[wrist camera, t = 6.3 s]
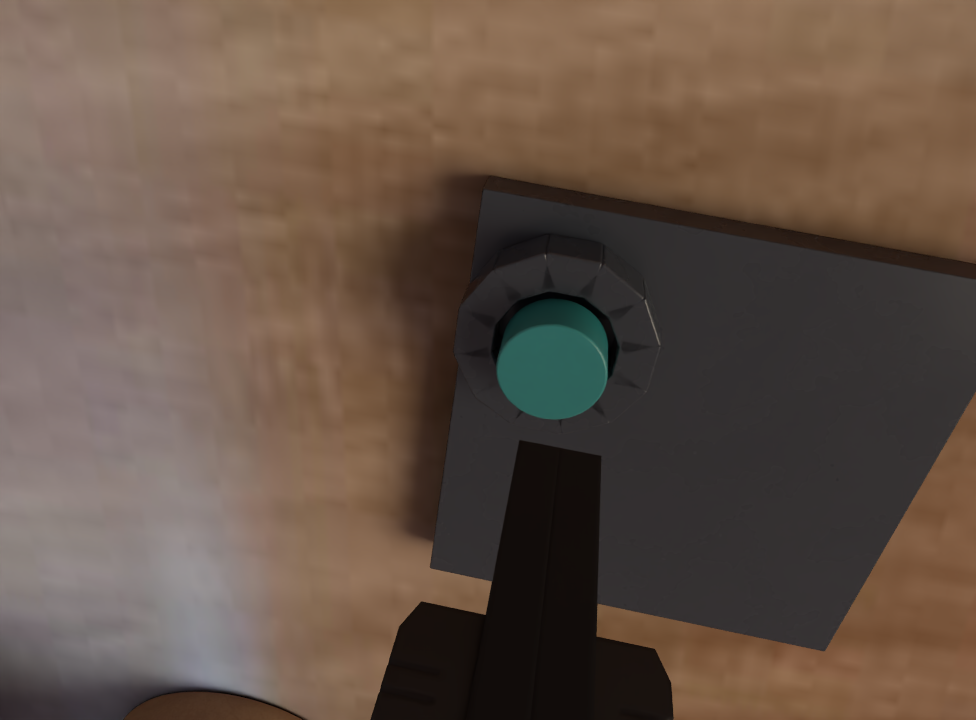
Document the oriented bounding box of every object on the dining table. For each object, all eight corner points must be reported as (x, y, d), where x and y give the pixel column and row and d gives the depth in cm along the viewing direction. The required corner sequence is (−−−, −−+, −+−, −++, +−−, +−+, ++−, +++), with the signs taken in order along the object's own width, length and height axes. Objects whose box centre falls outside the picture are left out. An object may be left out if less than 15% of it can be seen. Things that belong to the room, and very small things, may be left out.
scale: (1012, 270, 22) (1065, 315, 20) (816, 623, 31) (835, 687, 28) (488, 174, 23) (472, 206, 20) (435, 543, 31) (419, 598, 29)
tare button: (618, 308, 22) (619, 336, 20) (595, 397, 23) (594, 429, 22) (511, 288, 22) (504, 315, 20) (496, 378, 24) (488, 409, 22)
